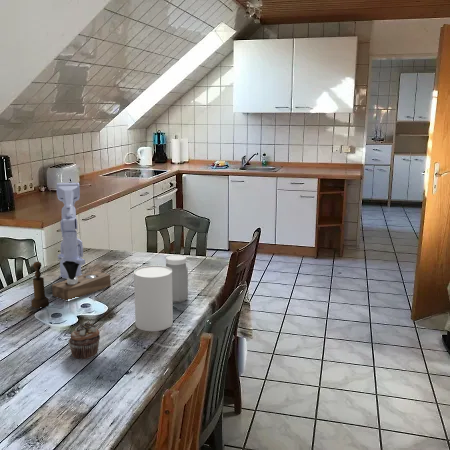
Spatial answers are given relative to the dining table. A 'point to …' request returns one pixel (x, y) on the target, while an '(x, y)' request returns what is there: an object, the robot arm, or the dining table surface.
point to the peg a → (72, 281)
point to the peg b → (90, 276)
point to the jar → (178, 277)
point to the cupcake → (84, 341)
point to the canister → (153, 298)
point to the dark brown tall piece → (39, 289)
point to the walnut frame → (81, 286)
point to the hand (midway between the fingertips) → (72, 278)
